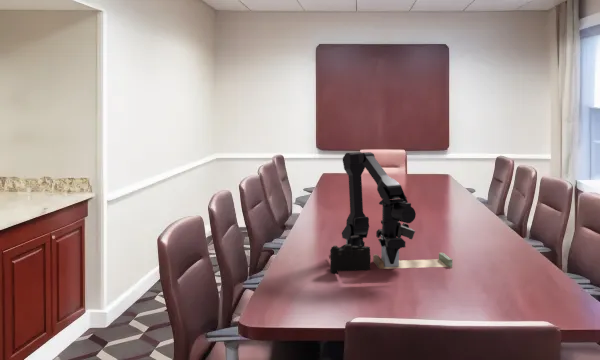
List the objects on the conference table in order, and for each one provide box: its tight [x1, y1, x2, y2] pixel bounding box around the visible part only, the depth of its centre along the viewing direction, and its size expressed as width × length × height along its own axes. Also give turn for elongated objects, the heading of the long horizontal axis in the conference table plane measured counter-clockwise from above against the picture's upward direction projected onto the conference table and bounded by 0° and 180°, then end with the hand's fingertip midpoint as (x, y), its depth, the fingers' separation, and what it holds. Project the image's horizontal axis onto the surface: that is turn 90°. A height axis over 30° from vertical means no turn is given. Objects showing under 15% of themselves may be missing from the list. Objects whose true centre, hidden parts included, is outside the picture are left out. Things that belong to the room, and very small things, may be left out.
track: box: [372, 252, 453, 270], centre depth 199 cm, size 26×10×4 cm, turn 95°
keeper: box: [380, 245, 400, 267], centre depth 198 cm, size 5×6×7 cm
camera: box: [329, 243, 371, 275], centre depth 195 cm, size 14×11×10 cm
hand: (390, 261), depth 198 cm, fingers closed on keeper, 5 cm apart
